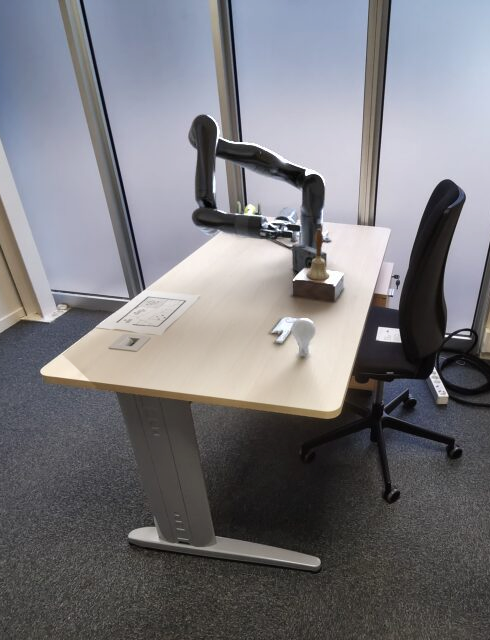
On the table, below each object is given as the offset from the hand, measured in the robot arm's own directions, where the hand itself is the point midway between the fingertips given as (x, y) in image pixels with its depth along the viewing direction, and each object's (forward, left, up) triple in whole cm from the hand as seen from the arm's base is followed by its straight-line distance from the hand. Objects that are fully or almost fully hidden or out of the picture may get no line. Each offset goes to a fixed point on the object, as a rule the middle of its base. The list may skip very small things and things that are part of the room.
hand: (296, 231), depth 148 cm
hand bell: (+7, +4, -14) cm, 16 cm away
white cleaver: (+21, -25, -20) cm, 39 cm away
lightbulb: (+36, -30, -21) cm, 51 cm away
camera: (-9, +14, -21) cm, 27 cm away
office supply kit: (-54, +54, -21) cm, 79 cm away
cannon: (-74, +34, -21) cm, 84 cm away
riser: (+7, +4, -20) cm, 22 cm away
